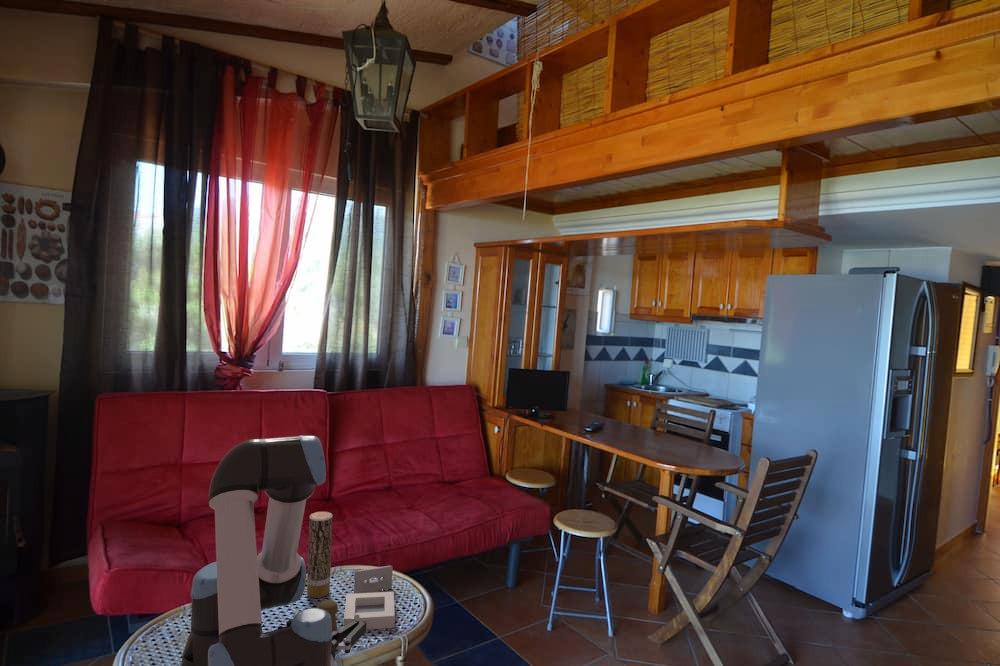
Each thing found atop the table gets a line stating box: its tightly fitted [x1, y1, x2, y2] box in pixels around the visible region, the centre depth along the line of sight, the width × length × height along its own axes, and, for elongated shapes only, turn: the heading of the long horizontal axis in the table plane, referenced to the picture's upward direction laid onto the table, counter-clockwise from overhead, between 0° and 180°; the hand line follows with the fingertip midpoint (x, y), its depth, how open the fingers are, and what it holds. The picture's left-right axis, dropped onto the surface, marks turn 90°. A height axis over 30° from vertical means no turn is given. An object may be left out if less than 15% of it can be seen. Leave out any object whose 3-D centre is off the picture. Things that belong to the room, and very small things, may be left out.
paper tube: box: [306, 511, 333, 599], centre depth 181 cm, size 7×7×25 cm
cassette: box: [353, 565, 393, 594], centre depth 184 cm, size 12×2×8 cm, turn 115°
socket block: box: [342, 591, 396, 631], centre depth 170 cm, size 14×14×4 cm
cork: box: [317, 599, 339, 632], centre depth 155 cm, size 6×6×11 cm
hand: (325, 612), depth 145 cm, fingers open, 13 cm apart
